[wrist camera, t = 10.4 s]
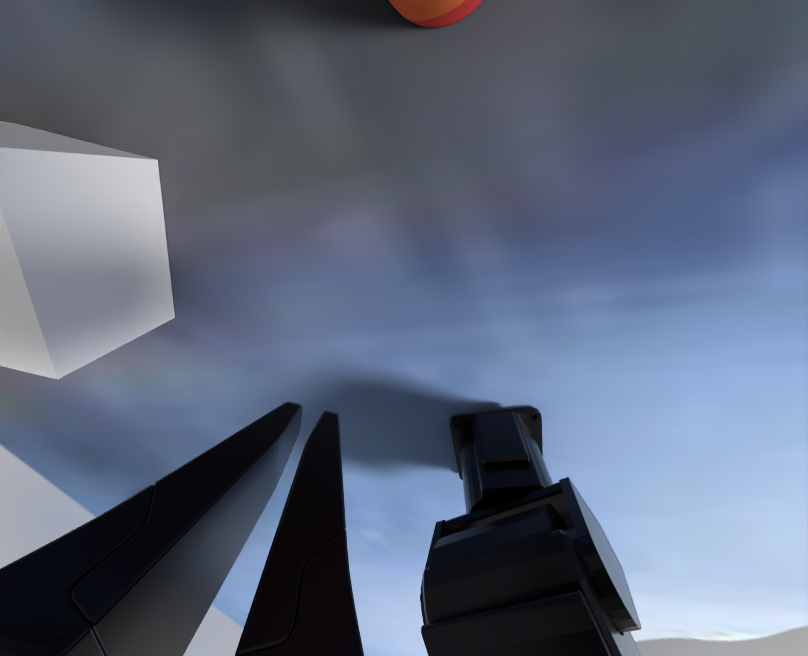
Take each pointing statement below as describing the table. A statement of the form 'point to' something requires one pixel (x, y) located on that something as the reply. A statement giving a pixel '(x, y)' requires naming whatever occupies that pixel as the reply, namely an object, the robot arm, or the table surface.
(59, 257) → the white block
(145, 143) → the table surface
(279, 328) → the table surface
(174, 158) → the table surface
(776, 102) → the table surface
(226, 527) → the robot arm
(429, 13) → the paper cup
